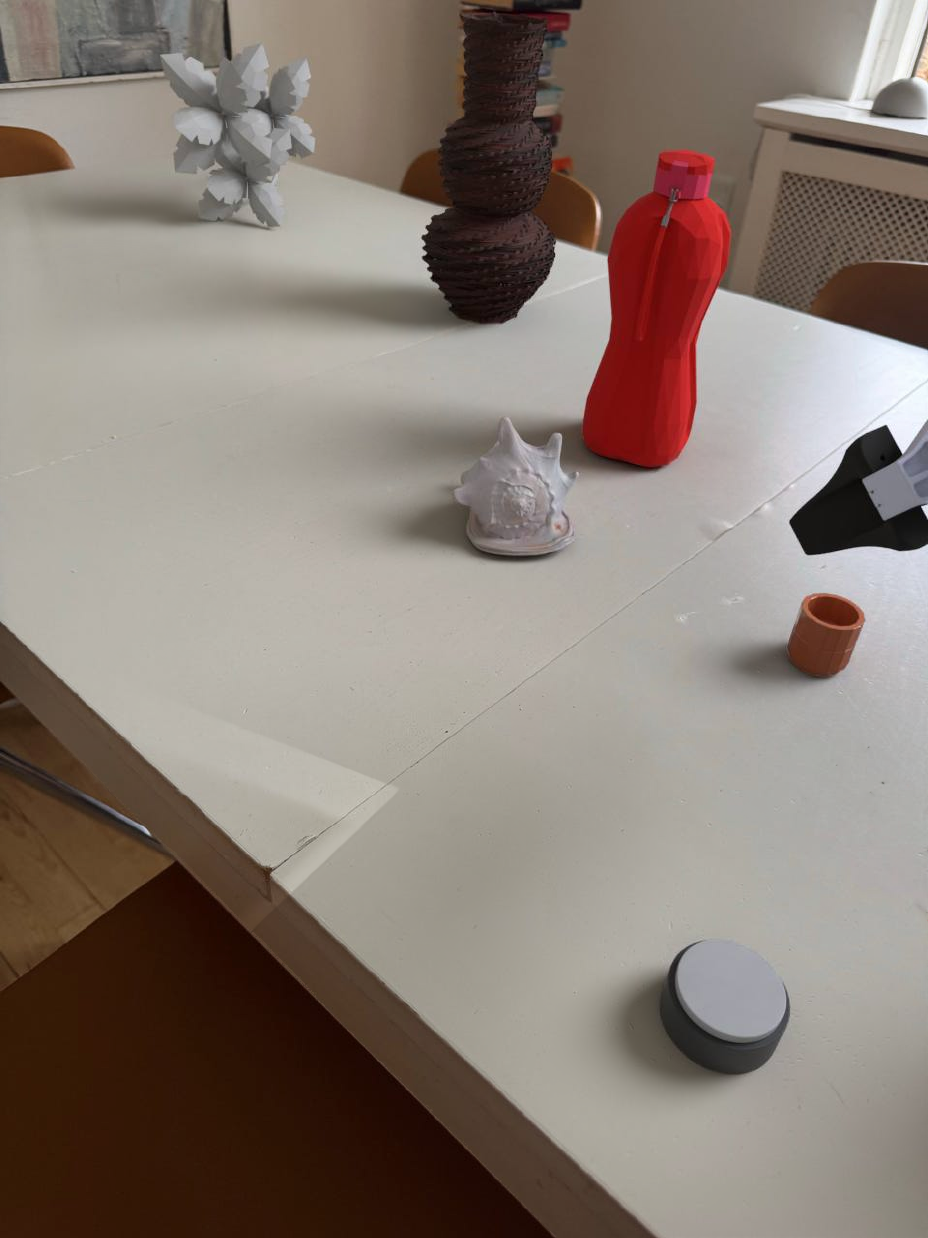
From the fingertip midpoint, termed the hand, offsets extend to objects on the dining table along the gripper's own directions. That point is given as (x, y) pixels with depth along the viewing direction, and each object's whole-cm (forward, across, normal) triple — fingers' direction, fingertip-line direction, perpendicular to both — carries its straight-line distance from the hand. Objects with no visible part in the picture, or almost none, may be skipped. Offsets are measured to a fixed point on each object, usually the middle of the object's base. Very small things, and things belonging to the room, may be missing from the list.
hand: (847, 514), depth 51 cm
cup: (+14, -7, +8) cm, 17 cm away
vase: (+54, -27, -41) cm, 73 cm away
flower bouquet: (+87, -22, -81) cm, 121 cm away
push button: (+4, +19, +18) cm, 26 cm away
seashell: (+29, 0, -12) cm, 32 cm away
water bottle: (+32, -18, -14) cm, 39 cm away
